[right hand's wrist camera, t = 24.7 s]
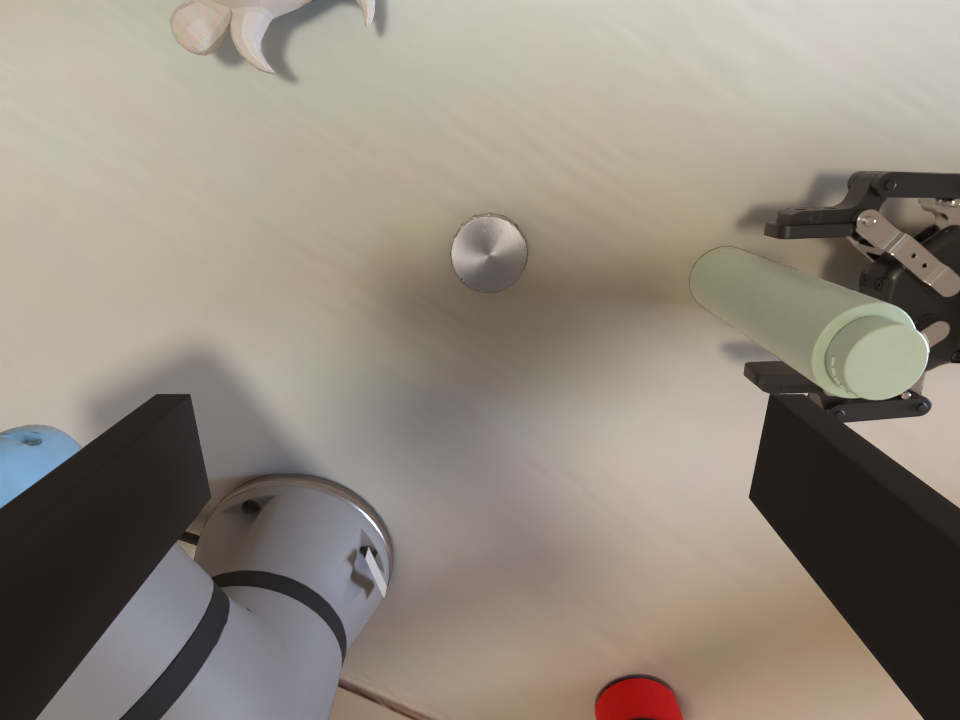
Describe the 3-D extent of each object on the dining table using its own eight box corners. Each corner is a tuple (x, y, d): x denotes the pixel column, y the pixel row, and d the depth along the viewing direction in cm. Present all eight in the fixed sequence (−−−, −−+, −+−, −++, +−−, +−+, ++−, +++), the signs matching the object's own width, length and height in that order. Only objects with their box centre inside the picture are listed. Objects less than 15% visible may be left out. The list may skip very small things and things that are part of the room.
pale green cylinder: (708, 321, 38) (857, 431, 23) (677, 272, 37) (812, 353, 22) (765, 284, 37) (959, 373, 22) (735, 232, 36) (919, 289, 21)
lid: (499, 197, 35) (500, 199, 34) (539, 261, 37) (542, 266, 35) (436, 240, 36) (434, 244, 35) (478, 301, 38) (478, 307, 36)
